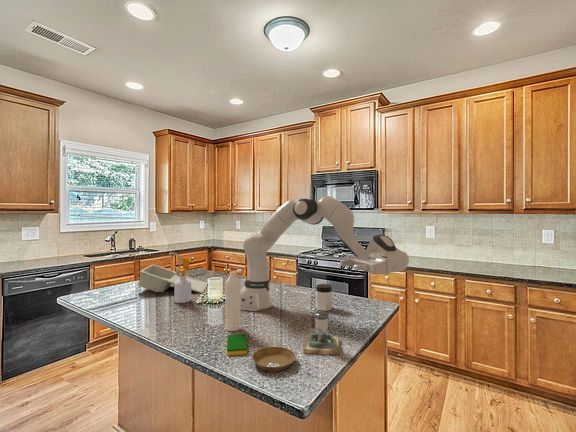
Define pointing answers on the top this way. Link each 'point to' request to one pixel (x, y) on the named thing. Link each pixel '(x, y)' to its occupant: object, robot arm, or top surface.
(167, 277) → the kitchen sink
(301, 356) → the top surface
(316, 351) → the post base
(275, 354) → the plant saucer
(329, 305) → the jar
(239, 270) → the white spray bottle
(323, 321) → the salt shaker
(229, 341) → the dish sponge
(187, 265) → the soap bottle
